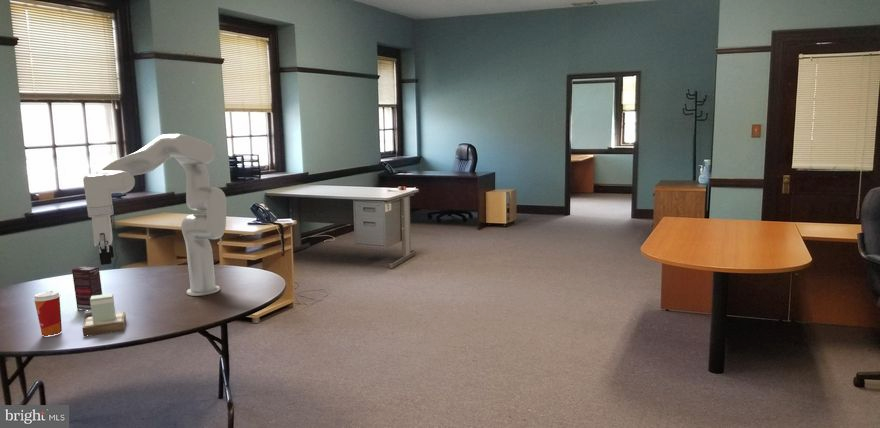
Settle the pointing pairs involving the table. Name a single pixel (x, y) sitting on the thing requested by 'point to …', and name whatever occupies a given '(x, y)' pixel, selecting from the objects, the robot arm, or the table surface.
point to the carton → (102, 307)
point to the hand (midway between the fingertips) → (107, 260)
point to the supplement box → (86, 285)
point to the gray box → (88, 314)
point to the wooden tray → (104, 325)
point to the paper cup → (49, 312)
